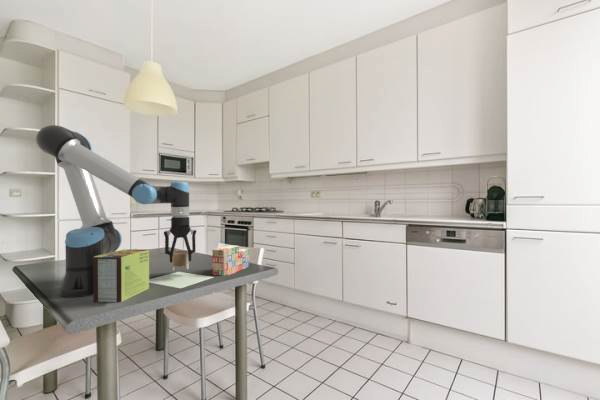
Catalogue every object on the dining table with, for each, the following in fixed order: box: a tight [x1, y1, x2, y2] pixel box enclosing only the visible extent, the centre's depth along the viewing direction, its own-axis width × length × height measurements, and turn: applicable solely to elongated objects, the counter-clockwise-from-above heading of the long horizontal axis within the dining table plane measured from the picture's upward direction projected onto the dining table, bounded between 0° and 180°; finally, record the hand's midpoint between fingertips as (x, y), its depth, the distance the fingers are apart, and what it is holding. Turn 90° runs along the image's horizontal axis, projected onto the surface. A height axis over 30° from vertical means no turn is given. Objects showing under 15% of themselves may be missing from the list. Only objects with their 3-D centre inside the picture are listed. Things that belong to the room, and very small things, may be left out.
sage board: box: [149, 271, 215, 289], centre depth 125 cm, size 22×18×1 cm
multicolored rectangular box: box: [211, 244, 250, 277], centre depth 141 cm, size 21×6×12 cm, turn 158°
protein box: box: [92, 248, 150, 304], centre depth 105 cm, size 10×15×16 cm
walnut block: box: [172, 249, 188, 268], centre depth 129 cm, size 5×5×12 cm
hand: (180, 269), depth 130 cm, fingers closed on walnut block, 5 cm apart
